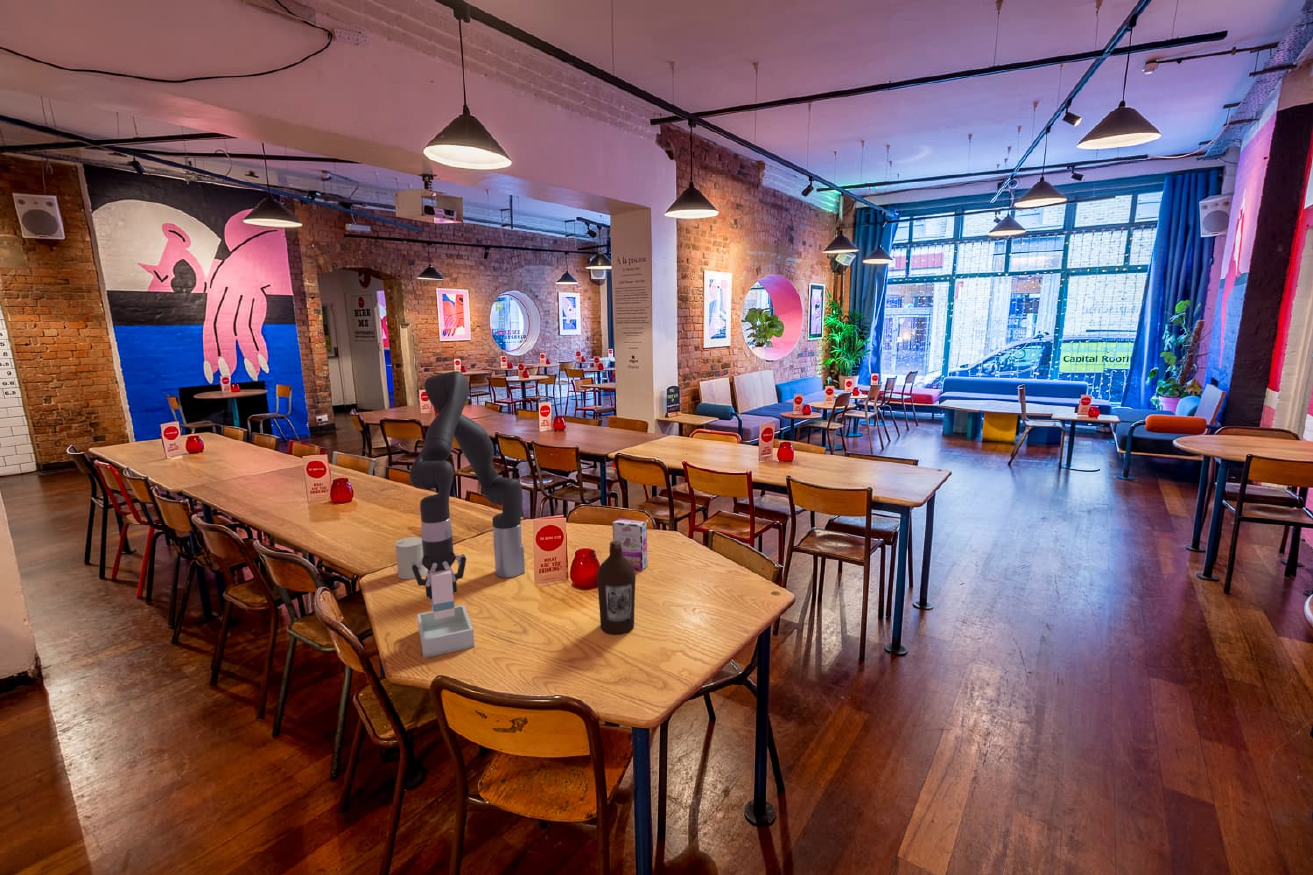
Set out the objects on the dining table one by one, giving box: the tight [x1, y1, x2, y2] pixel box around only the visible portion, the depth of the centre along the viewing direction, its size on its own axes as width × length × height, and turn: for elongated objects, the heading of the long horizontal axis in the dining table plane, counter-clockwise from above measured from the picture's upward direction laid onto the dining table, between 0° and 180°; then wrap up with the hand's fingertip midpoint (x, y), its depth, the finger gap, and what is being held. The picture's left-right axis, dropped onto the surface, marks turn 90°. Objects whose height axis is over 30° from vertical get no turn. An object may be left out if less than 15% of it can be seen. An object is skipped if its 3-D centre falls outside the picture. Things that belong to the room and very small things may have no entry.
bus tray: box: [416, 604, 475, 660], centre depth 162 cm, size 13×16×5 cm
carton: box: [430, 570, 455, 619], centre depth 160 cm, size 5×8×12 cm, turn 25°
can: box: [394, 536, 428, 580], centre depth 203 cm, size 9×9×12 cm
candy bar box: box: [612, 518, 649, 572], centre depth 207 cm, size 11×5×16 cm, turn 68°
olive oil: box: [596, 540, 637, 636], centre depth 165 cm, size 11×11×25 cm
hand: (441, 595), depth 160 cm, fingers closed on carton, 5 cm apart
